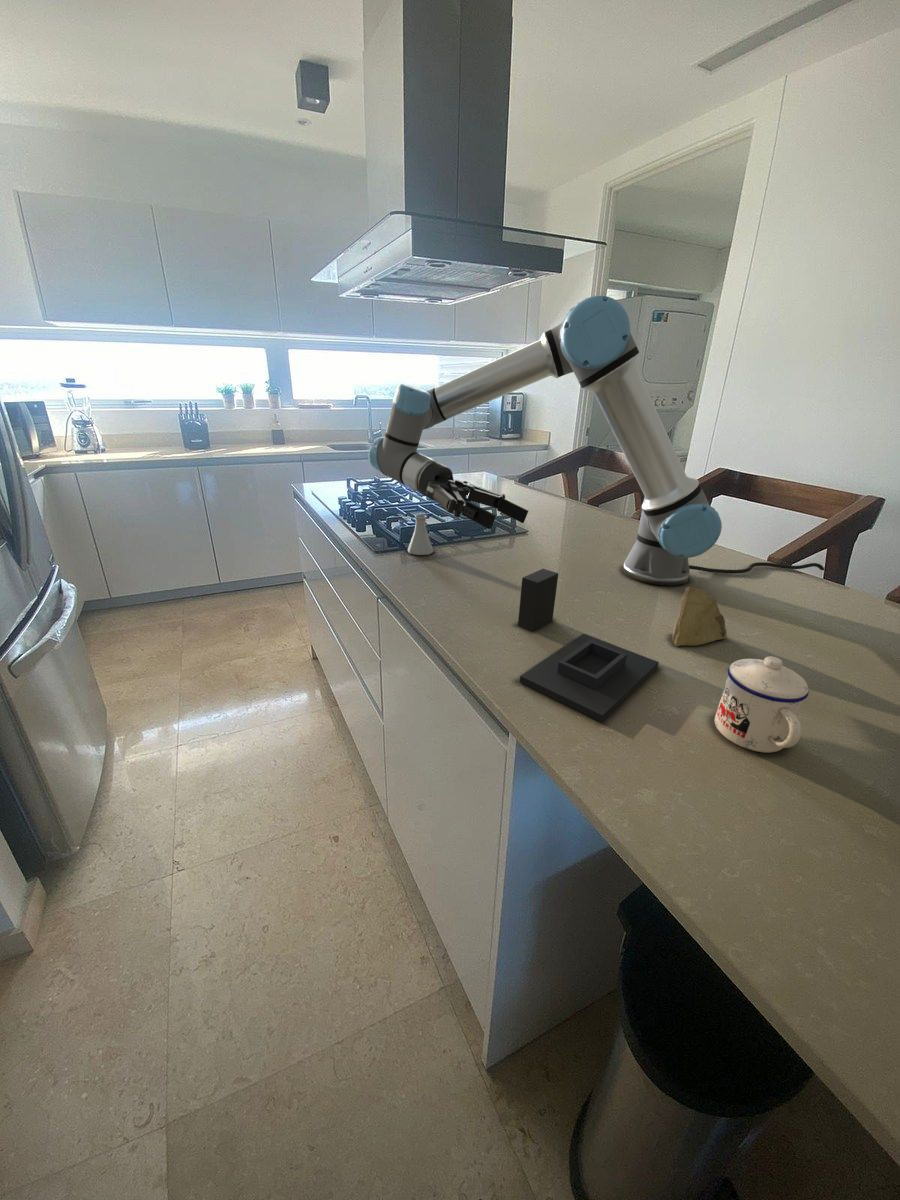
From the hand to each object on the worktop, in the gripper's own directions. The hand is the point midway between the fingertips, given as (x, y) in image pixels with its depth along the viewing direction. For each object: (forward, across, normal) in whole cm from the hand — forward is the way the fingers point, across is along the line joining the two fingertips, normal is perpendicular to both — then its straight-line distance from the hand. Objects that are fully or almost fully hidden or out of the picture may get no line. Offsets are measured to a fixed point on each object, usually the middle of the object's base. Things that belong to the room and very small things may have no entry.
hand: (510, 519), depth 95 cm
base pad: (+29, +12, -13) cm, 34 cm away
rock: (+40, -12, -8) cm, 42 cm away
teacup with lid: (+52, +14, -8) cm, 54 cm away
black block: (+13, +1, -16) cm, 21 cm away
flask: (-30, -18, -25) cm, 43 cm away
